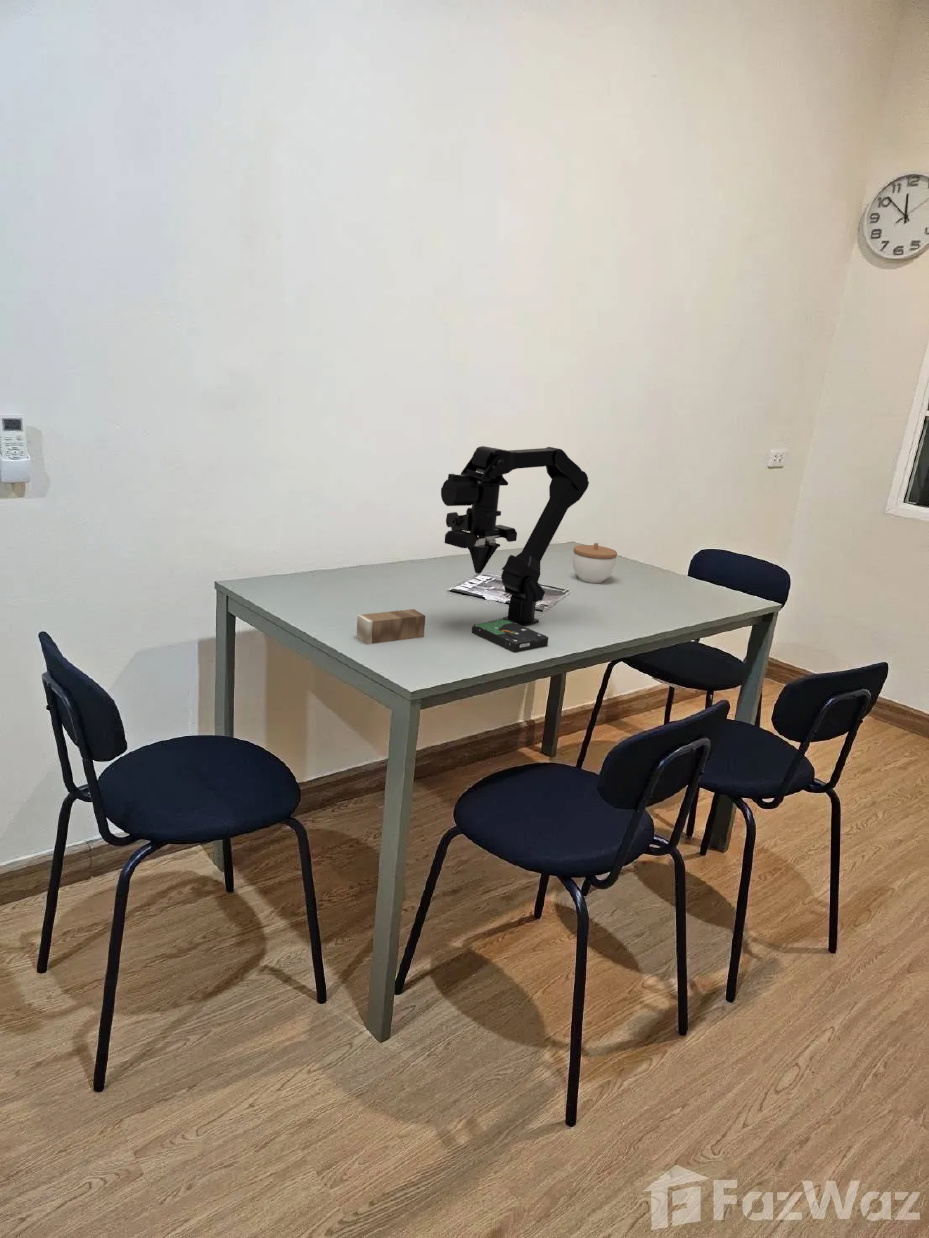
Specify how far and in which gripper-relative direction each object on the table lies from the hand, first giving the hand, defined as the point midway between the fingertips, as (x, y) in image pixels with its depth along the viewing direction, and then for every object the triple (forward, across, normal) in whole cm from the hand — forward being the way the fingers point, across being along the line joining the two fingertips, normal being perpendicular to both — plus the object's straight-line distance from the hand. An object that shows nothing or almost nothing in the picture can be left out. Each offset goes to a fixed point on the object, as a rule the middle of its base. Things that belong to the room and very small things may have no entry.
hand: (478, 573), depth 193 cm
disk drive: (+14, -1, +10) cm, 17 cm away
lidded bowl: (+13, -65, -11) cm, 67 cm away
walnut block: (+11, +14, -4) cm, 18 cm away
